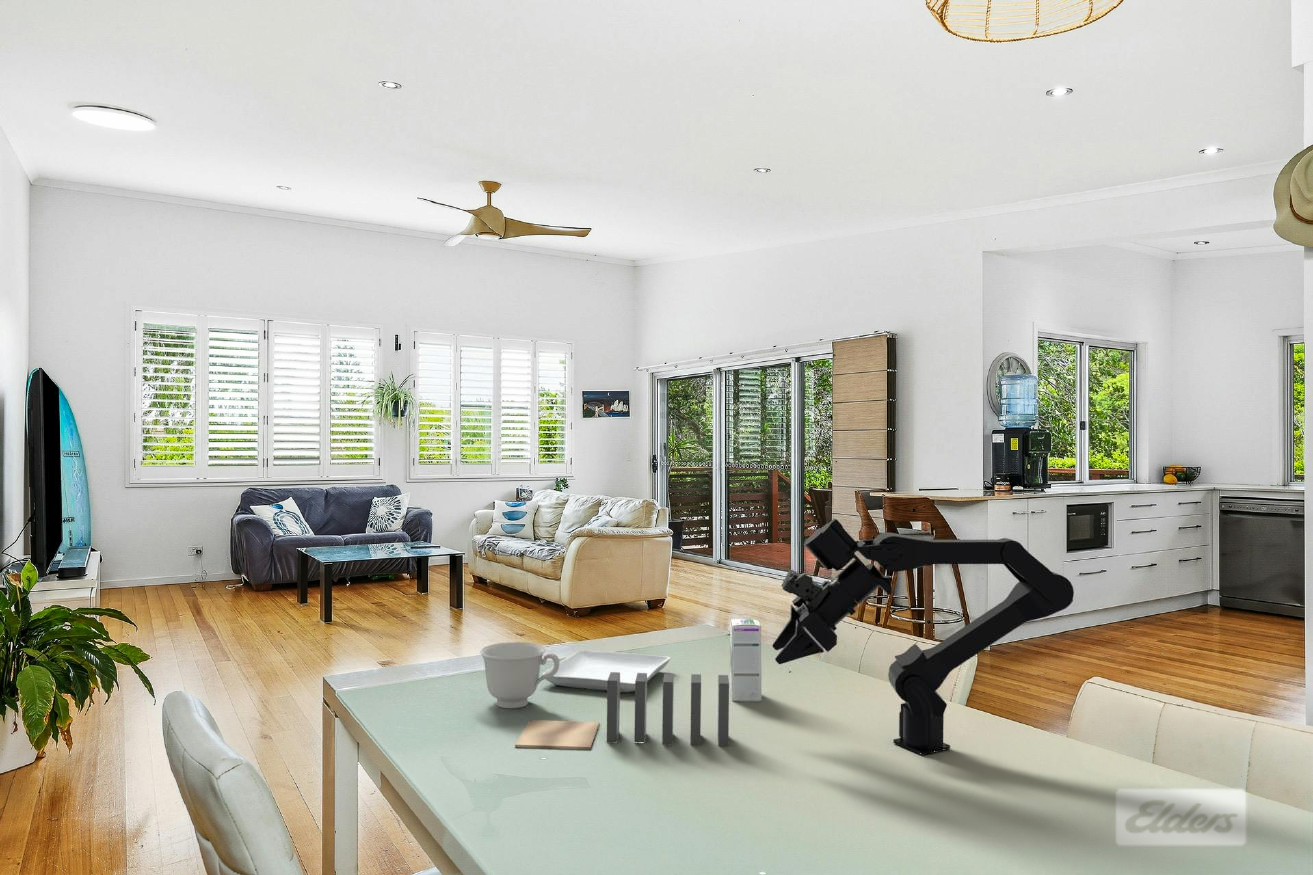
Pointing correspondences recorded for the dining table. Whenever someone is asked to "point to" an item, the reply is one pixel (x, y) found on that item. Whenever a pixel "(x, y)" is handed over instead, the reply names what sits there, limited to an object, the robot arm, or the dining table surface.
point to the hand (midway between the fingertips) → (775, 654)
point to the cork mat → (558, 734)
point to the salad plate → (605, 669)
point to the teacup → (515, 671)
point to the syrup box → (745, 660)
